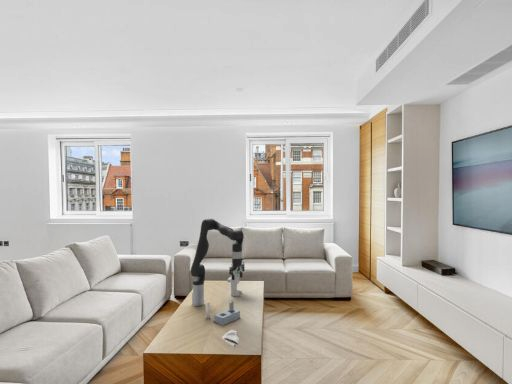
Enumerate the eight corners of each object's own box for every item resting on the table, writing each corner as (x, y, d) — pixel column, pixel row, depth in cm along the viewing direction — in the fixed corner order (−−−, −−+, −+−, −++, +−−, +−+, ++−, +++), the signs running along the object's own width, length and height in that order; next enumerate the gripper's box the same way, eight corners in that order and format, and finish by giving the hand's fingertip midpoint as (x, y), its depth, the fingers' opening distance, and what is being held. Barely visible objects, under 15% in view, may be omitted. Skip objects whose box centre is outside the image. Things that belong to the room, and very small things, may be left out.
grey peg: (228, 317, 240) (228, 301, 240) (231, 316, 243) (231, 300, 243) (231, 319, 238) (231, 302, 238) (234, 317, 241) (234, 301, 241)
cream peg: (204, 318, 240) (204, 302, 240) (208, 317, 242) (208, 301, 242) (207, 319, 238) (207, 303, 238) (211, 318, 240) (210, 302, 240)
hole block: (214, 321, 233) (214, 315, 233) (231, 314, 247) (231, 308, 247) (222, 325, 227) (222, 318, 227) (240, 317, 241) (239, 310, 241)
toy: (238, 300, 280) (238, 265, 280) (227, 299, 282) (227, 265, 282) (247, 289, 309) (247, 258, 309) (237, 289, 311) (237, 258, 311)
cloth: (225, 329, 222) (225, 326, 222) (244, 330, 220) (244, 326, 220) (216, 347, 196) (216, 344, 196) (238, 348, 195) (238, 344, 195)
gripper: (239, 255, 249) (239, 276, 249) (226, 258, 238) (226, 279, 238) (246, 256, 244) (247, 277, 244) (234, 259, 233) (234, 281, 233)
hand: (237, 278), depth 241 cm, fingers open, 8 cm apart
